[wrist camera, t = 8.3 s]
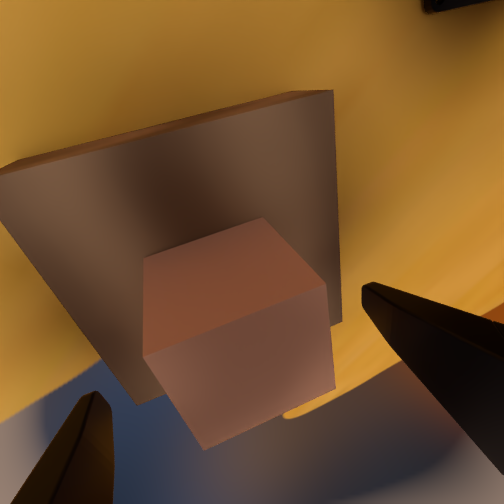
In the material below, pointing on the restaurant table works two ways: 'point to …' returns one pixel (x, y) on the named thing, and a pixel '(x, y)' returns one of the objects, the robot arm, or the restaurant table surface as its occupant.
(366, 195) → the restaurant table surface
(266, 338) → the terracotta cube
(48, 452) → the robot arm
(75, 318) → the walnut block
